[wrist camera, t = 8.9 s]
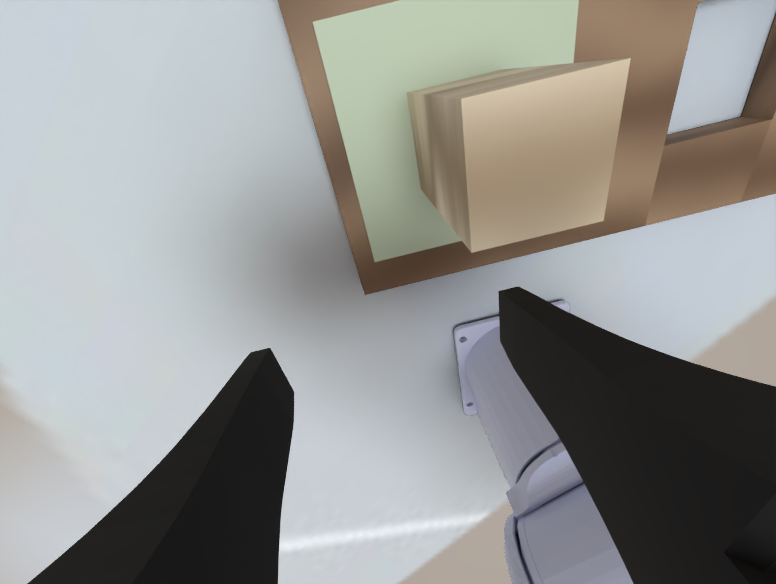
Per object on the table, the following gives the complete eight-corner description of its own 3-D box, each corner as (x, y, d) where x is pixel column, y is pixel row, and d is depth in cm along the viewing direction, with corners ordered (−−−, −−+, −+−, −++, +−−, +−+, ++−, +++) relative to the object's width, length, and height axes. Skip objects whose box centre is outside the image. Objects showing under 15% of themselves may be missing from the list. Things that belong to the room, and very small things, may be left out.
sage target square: (557, 214, 18) (560, 216, 17) (374, 259, 18) (374, 262, 17) (577, -43, 12) (582, -46, 12) (313, 22, 12) (312, 21, 12)
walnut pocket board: (783, 177, 20) (813, 184, 19) (363, 281, 20) (364, 294, 19) (950, -200, 12) (1020, -232, 11) (272, -32, 12) (264, -45, 11)
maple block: (503, 169, 16) (603, 221, 10) (421, 189, 16) (471, 252, 10) (502, 69, 13) (630, 57, 8) (406, 92, 13) (461, 98, 8)
